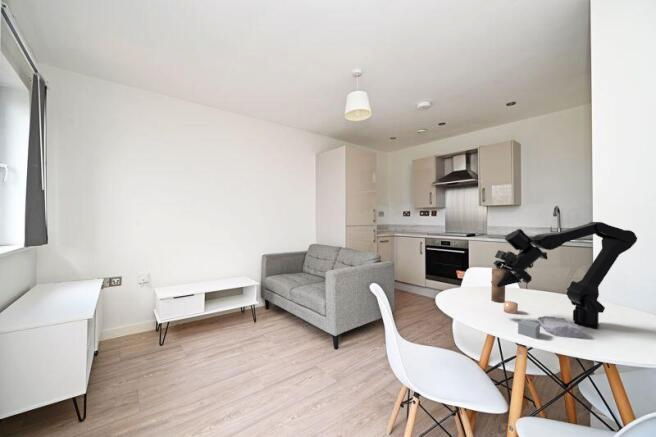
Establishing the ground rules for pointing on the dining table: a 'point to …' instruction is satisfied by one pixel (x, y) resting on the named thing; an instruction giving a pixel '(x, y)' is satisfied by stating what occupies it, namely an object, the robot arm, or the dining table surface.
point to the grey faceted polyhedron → (529, 328)
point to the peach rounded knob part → (511, 307)
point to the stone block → (560, 327)
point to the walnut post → (497, 292)
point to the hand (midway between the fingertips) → (494, 284)
